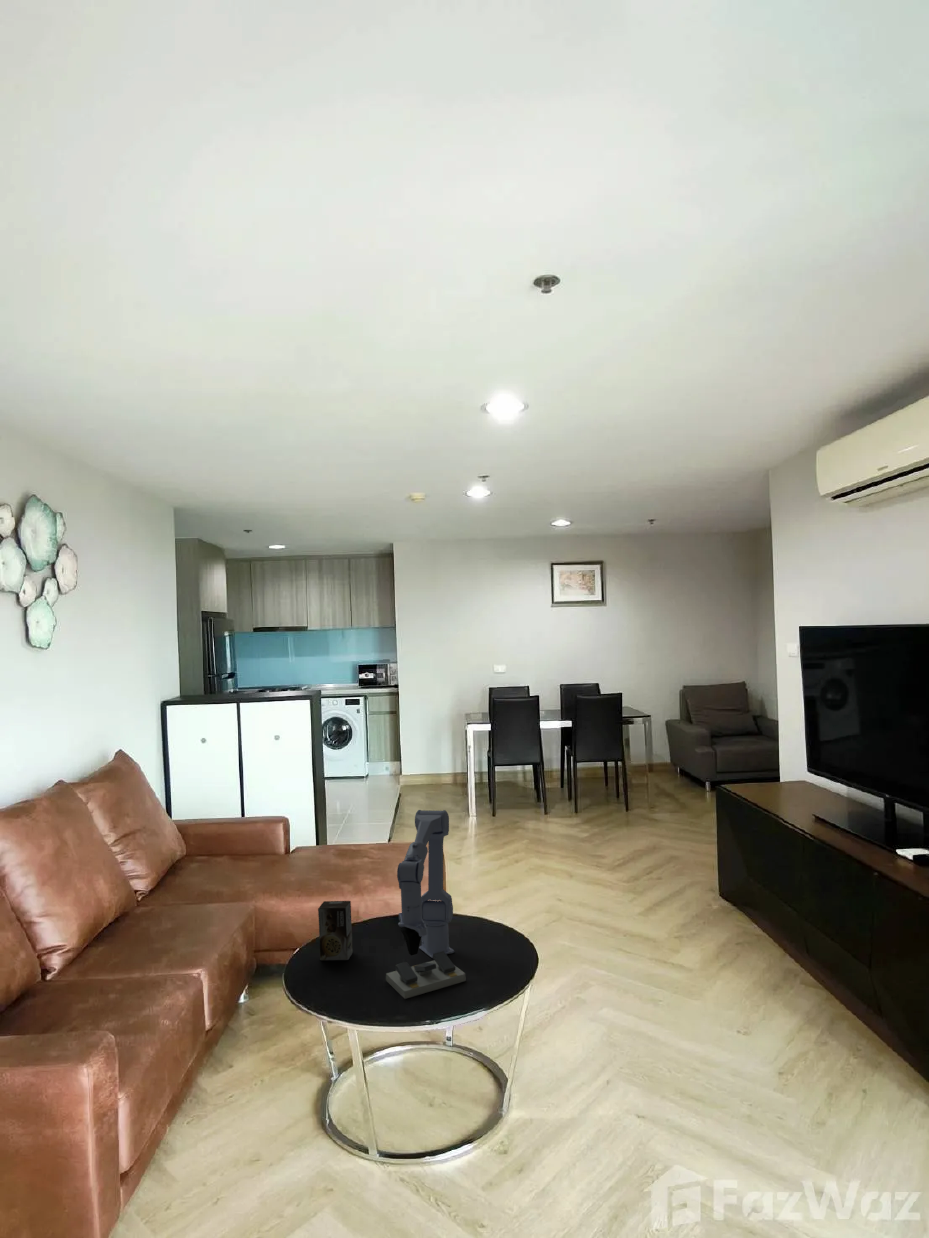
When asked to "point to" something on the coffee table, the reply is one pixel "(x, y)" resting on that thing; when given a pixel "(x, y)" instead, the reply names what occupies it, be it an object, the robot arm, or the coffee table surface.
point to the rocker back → (444, 962)
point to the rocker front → (406, 972)
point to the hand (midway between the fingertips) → (413, 953)
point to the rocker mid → (425, 967)
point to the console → (425, 981)
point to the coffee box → (335, 930)
